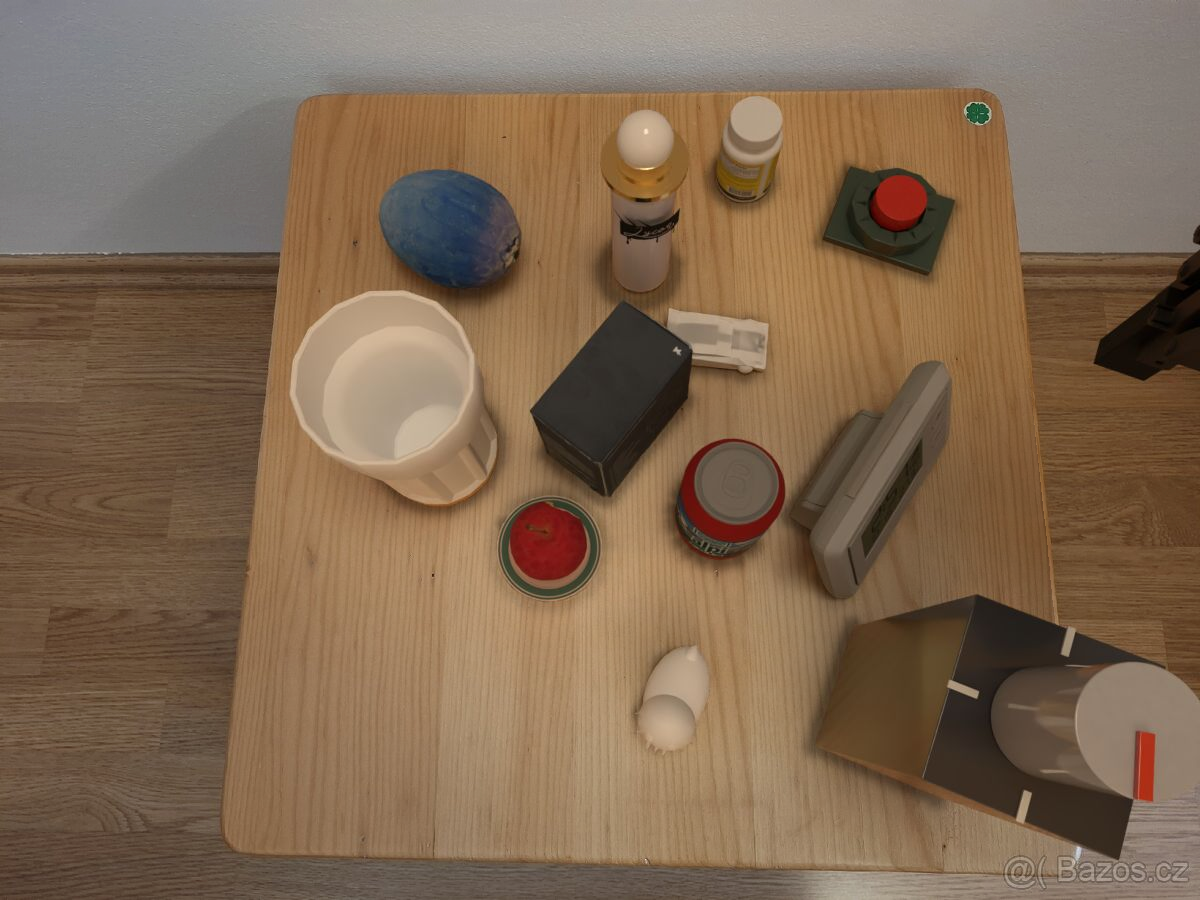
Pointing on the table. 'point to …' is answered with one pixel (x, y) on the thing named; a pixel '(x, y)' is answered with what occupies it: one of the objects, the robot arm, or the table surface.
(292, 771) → the table surface
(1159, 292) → the robot arm
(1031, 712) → the hob knob
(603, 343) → the box
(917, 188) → the button
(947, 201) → the button box
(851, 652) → the pillar
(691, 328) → the toy car
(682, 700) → the toy creature
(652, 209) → the perfume bottle
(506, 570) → the apple
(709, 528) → the beverage can
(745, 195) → the supplement bottle
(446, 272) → the blue plum
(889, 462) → the digital clock
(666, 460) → the table surface
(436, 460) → the cup
